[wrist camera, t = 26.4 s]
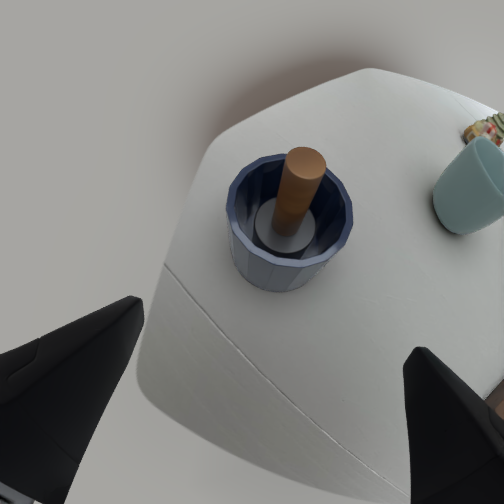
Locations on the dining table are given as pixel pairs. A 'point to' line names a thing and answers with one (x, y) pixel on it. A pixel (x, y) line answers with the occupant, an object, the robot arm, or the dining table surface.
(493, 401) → the stand
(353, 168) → the dining table surface
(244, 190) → the navy peg holder
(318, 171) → the grey cylinder with peg
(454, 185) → the cup
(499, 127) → the ornament
